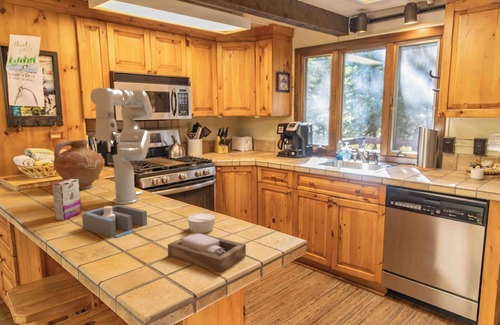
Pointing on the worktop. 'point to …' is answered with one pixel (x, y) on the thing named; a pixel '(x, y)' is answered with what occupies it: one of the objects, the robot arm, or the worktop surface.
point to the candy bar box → (66, 199)
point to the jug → (78, 163)
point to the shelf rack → (114, 220)
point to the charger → (203, 244)
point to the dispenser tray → (209, 254)
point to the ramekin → (201, 222)
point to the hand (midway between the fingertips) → (107, 153)
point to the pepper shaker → (108, 212)
